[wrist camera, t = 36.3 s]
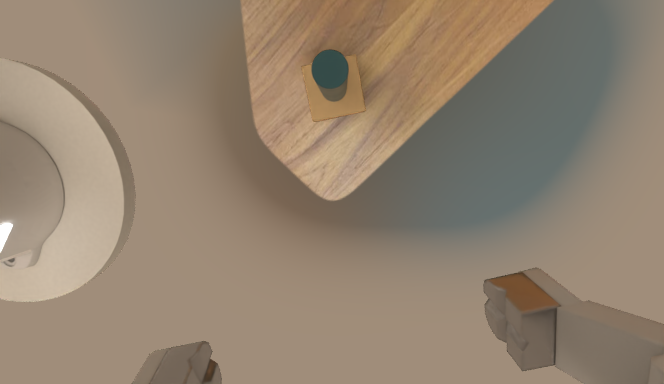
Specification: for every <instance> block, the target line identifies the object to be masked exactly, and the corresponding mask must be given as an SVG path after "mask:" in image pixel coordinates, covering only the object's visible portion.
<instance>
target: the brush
mask: <svg viewBox="0 0 664 384" xmlns="http://www.w3.org/2000/svg"><path fill="white" fill-rule="evenodd" d="M301 68H302V73H303V77H304V82H305V87H306V92H307V96H308V101H309V106H310V111H311V115H312V120H313V122H318V121H323V120H327V119H332V118H337V117H342V116H346V115H351V114H356V113H361V112H365V111H366V108H365V102H364V96H363V91H362V85H361V80H360V74H359V69H358V63H357V57H356V54H354V55H350V56H345V57H344V56H343V55H342V54H341V53H340V52H338V51H336V50H325V51H322V52H321V53H319V54H318V55H317V56H316V57H315V59H314V60H313V63H312V64H309V65H305V66H302V67H301Z"/></svg>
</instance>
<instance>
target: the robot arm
mask: <svg viewBox="0 0 664 384" xmlns="http://www.w3.org/2000/svg"><path fill="white" fill-rule="evenodd" d="M63 207H64V190H63V184H62V180H61V177H60V174H59V172H58V169H57V167H56V165H55V163H54V162H53V160H52V158H51V157H50V155H49V154H48V153H47V152H46V150H45V149H44V148H43V147H42V146H41V145H40V144H39V143H38V142H37V141H36V140H35V139H34V138H32V137H31V136H30V135H28V134H27V133H25V132H24V131H22V130H20V129H18V128H16V127H14V126H11V125H9V124H7V123H4V122H2V121H0V269H25V268H28V267H31V266H34V265H35V264H36V263H37V261H38V259H39V256H40V252H41V248H42V245H43V243H44V242H45V240H46V239H47V238H48V237H49V236H50V235H51V234H52V232H53V231H54V230H55V228H56V227H57V225H58V223H59V221H60V219H61V216H62V212H63ZM483 286H484V293H485V294H486V295H487V297H488V298H489V299H488V300H487V302H486V303H485V314H486V318H487V321H488V324H489V326H490V328H491V329H492V332H493V333H494V334H495V336H496V337H497V338H498V339H500V340H502V341H504V342H506V343H507V352H508V353H509V354H510V356H511V357H512V358H513V359H514V361H515V362H516V363H517V365H518V366H519V367H520V369H521V370H522V371H526V370H532V369H537V368H542V367H548V366H553V365H555V367H557V368H558V369H560V370H562V371H563V372H565V373H567V374H568V375H570V376H572V377H574V378H575V379H577V380H579V381H580V382H582V383H584V384H664V324H662V323H658V322H656V321H652V320H649V319H646V318H643V317H639V316H636V315H633V314H630V313H627V312H623V311H620V310H617V309H614V308H611V307H608V306H604V305H601V304H598V303H595V302H591V301H584V302H583V301H581V300H580V299H579V298H577V297H576V296H575V295H573V294H572V293H571V292H570V291H568V290H567V289H566V288H564V287H563V286H562V285H561V284H559V283H558V282H557V281H555V280H554V279H553V278H552V277H550V276H549V275H548V274H546V273H545V272H544V271H542V270H541V269H539V268H532V269H528V270H524V271H520V272H518V273H514V274H509V275H505V276H500V277H496V278H491V279H487V280H485V281H484V285H483ZM211 354H212V349H211V347H210V345H209V343H208V342H206V341H202V342H196V343H191V344H187V345H181V346H176V347H171V348H167V349H162V350H157V351H154V352H152V353H151V354H149V356H148V358H147V359H146V361H145V363H144V364H143V366H142V368H141V369H140V371H139V373H138V374H137V376H136V378H135V379H134V381H133V383H132V384H221V380H222V378H221V373H220V369H219V366H218V364H217V363H216V362H215V361H213V360H211V359H210V357H211Z"/></svg>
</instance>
